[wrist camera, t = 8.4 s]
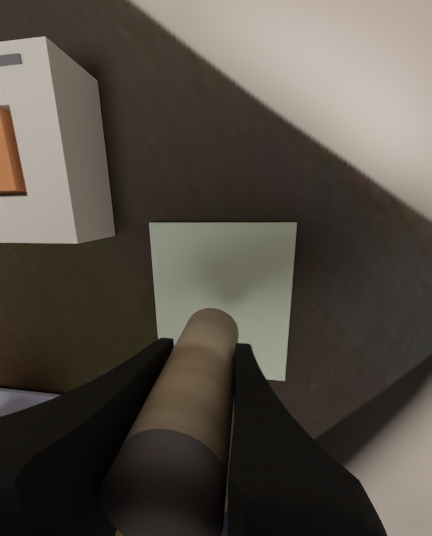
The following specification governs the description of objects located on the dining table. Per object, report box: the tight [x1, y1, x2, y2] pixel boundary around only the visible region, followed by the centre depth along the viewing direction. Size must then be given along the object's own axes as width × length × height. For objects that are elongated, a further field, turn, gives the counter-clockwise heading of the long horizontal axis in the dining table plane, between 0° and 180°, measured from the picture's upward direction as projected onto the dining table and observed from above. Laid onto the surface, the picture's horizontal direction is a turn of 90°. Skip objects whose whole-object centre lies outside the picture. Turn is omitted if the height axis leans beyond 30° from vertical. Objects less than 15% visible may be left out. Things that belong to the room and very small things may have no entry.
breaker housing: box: [0, 36, 115, 244], centre depth 15 cm, size 10×10×4 cm
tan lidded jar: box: [100, 308, 239, 536], centre depth 9 cm, size 3×3×8 cm
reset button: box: [0, 109, 27, 195], centre depth 14 cm, size 4×4×3 cm
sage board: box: [149, 222, 297, 381], centre depth 17 cm, size 12×10×1 cm
